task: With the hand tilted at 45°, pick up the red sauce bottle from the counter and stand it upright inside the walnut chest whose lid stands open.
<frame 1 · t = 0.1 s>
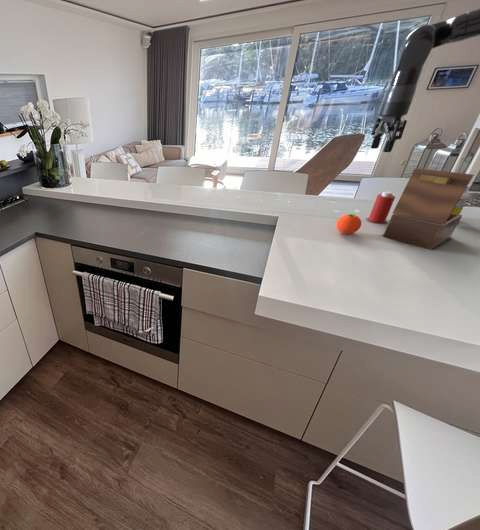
hand: (380, 150, 106), 24 cm above the countertop, tool pointing down, fingers open, 8 cm apart
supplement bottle: (442, 219, 107), on the countertop
clementine: (345, 233, 103), on the countertop
chest: (415, 236, 97), on the countertop
sauce bottle: (376, 220, 110), on the countertop
lid: (427, 196, 86), point 16 cm above the countertop, hinge at 80.0°
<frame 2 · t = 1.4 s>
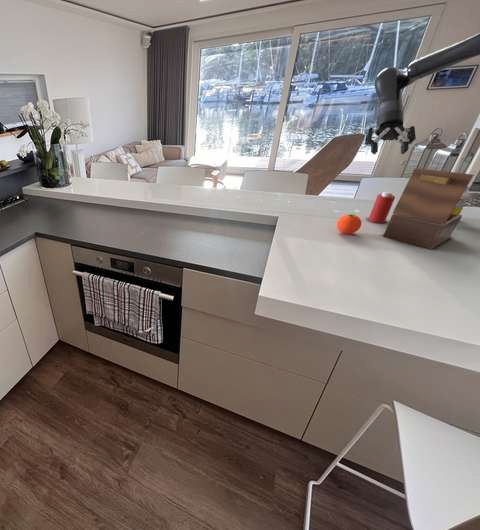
hand: (389, 152, 107), 23 cm above the countertop, tool tilted 45°, fingers open, 8 cm apart
nothing on the countertop moved.
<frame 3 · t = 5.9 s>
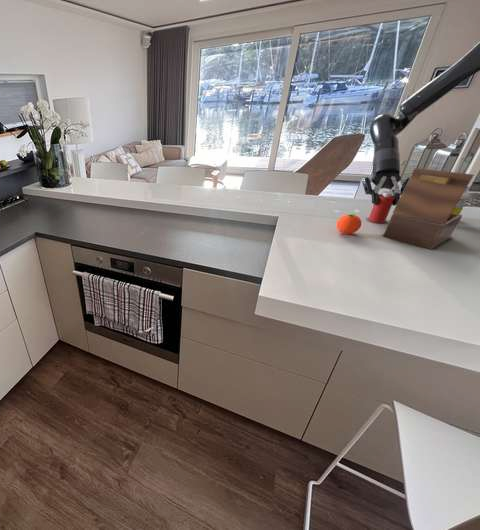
hand: (385, 204, 105), 7 cm above the countertop, tool tilted 45°, fingers closed on sauce bottle, 5 cm apart
sauce bottle: (376, 220, 110), on the countertop, touching gripper
everything else where it was.
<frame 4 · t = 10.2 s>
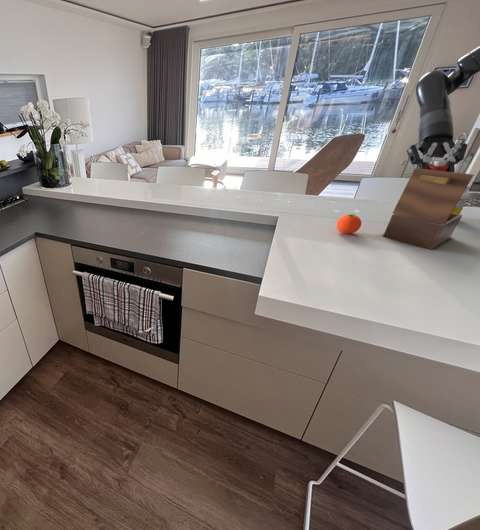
hand: (436, 174, 89), 20 cm above the countertop, tool tilted 45°, fingers closed on sauce bottle, 5 cm apart
sauce bottle: (423, 195, 94), point 13 cm above the countertop, touching gripper
everything else where it was.
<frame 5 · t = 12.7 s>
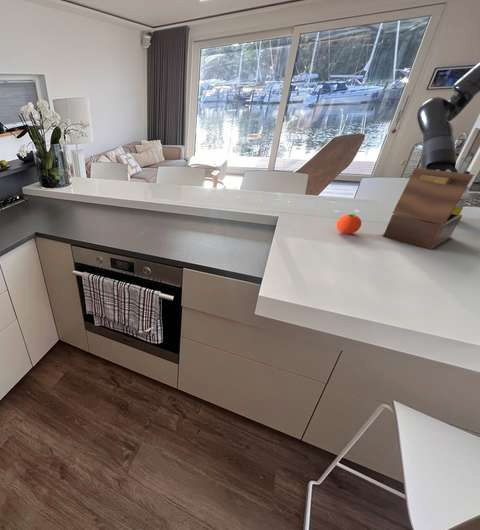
hand: (439, 201, 90), 12 cm above the countertop, tool tilted 45°, fingers closed on sauce bottle, 5 cm apart
sauce bottle: (425, 220, 95), point 5 cm above the countertop, touching gripper
everything else where it was.
when the fingers open (8 cm above the countertop, at t = 14.5 s): sauce bottle stays where it is, resting on chest.
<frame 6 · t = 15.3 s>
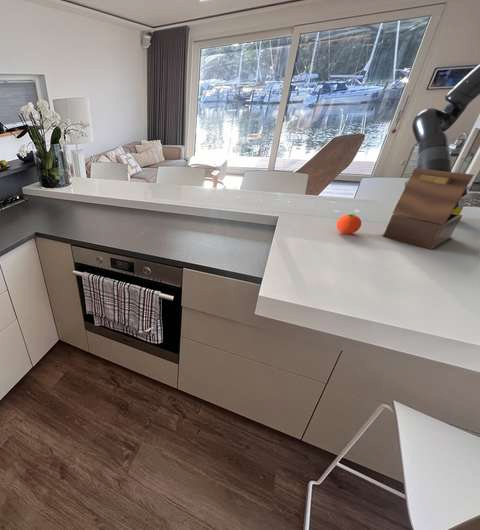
hand: (434, 208, 92), 10 cm above the countertop, tool tilted 45°, fingers open, 8 cm apart
sauce bottle: (420, 232, 97), point 1 cm above the countertop, touching chest
everything else where it was.
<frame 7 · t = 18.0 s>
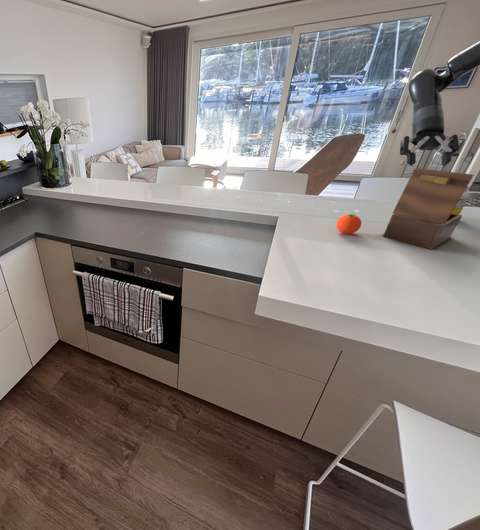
hand: (428, 164, 96), 21 cm above the countertop, tool tilted 45°, fingers open, 8 cm apart
nothing on the countertop moved.
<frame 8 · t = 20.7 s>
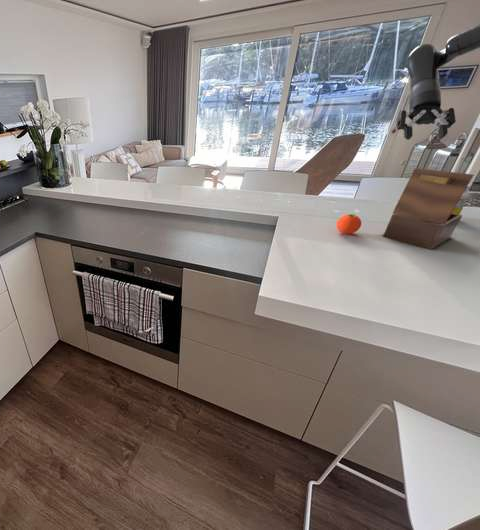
hand: (425, 137, 97), 29 cm above the countertop, tool tilted 45°, fingers open, 8 cm apart
nothing on the countertop moved.
at the end: sauce bottle inside the target area in the chest (2.5 cm from its centre), point 0.8 cm above the chest's base; sauce bottle tilted 0°; lid at +80° (first picture: +80°) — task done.
